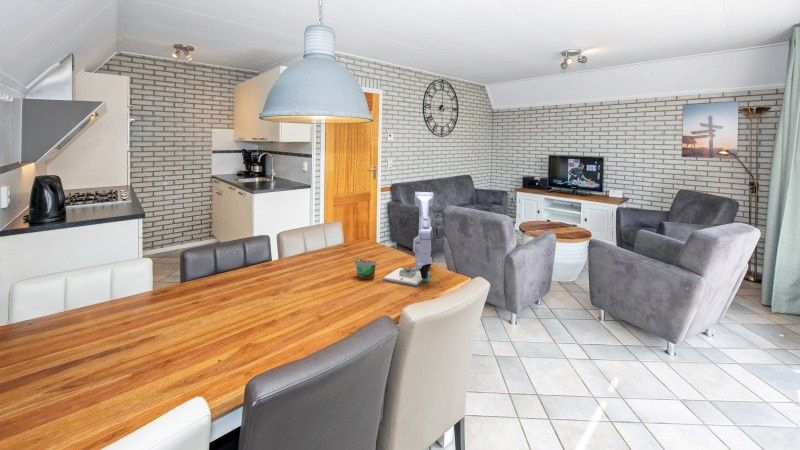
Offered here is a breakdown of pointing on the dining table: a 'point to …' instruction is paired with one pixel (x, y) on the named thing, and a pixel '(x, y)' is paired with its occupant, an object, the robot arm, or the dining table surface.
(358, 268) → the food container
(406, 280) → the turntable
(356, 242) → the dining table surface
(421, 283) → the susan base
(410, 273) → the cover
